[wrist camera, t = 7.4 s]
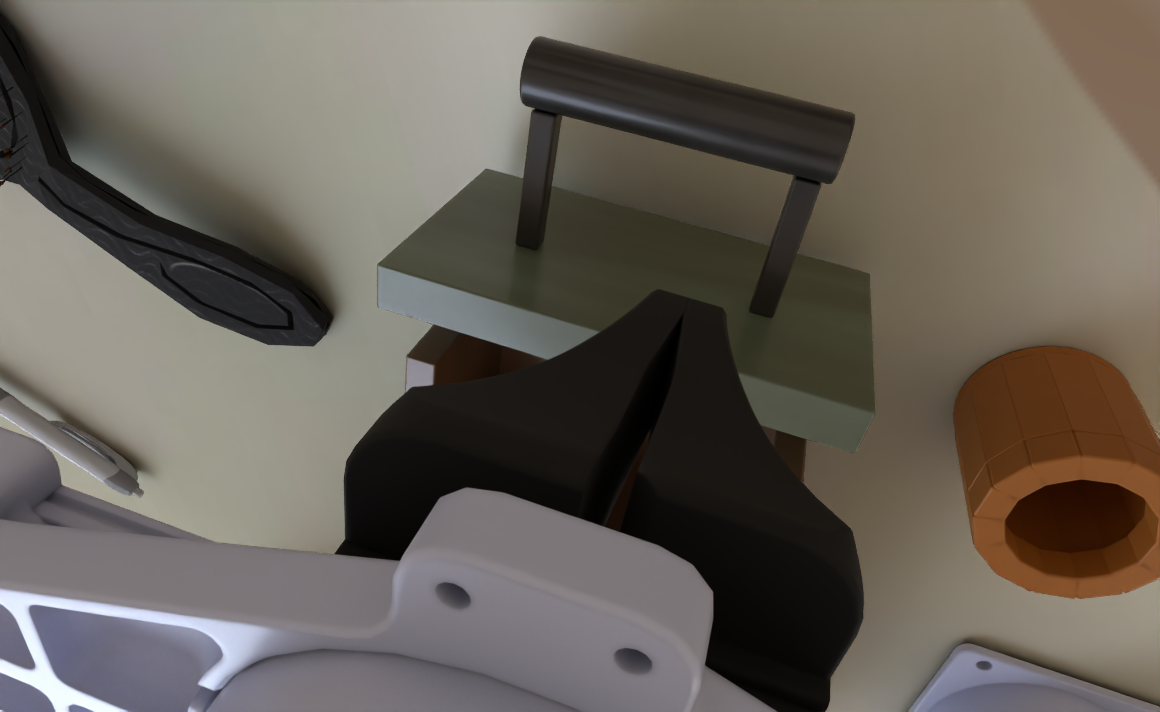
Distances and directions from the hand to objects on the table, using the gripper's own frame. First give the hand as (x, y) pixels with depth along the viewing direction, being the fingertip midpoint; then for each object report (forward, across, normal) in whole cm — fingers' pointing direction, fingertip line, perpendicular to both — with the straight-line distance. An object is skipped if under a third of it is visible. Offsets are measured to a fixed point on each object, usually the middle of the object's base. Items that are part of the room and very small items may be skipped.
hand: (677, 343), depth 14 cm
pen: (+10, +29, +20) cm, 37 cm away
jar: (+9, -11, +5) cm, 15 cm away
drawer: (+8, +1, +6) cm, 10 cm away
